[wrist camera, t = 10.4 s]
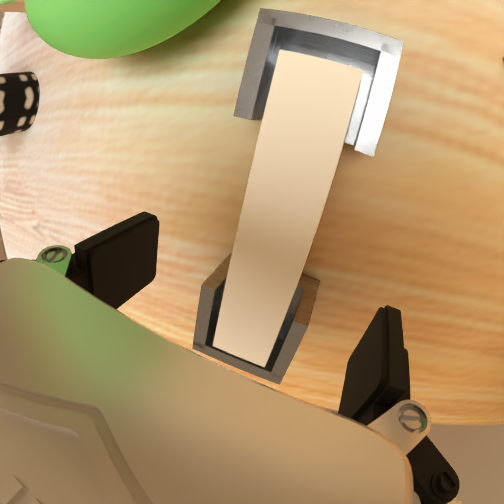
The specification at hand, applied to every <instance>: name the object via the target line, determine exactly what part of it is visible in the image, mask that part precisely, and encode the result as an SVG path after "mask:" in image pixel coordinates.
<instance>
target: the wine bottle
mask: <svg viewBox="0 0 504 504" xmlns="http://www.w3.org/2000/svg"><path fill="white" fill-rule="evenodd" d="M0 12H26V9H25V1H24V0H17V1H14V2H11V3H8V4H5V5H0Z"/></svg>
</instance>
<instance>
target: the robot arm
mask: <svg viewBox="0 0 504 504" xmlns="http://www.w3.org/2000/svg"><path fill="white" fill-rule="evenodd" d="M158 235H159V221H158V220H157V217H156V216H155V215H153V214H150V213H147V212H142V213H139V214H137V215H135V216H133V217H131V218H129V219H126V220H124V221H122V222H120V223H118V224H116V225H114V226H112V227H110V228H108V229H106V230H103V231H101V232H99V233H97V234H95V235H93V236H91V237H89V238H87V239H86V240H84V241H82V242H80V243H78V244H76V245H74V246H75V253H74V254H72V252H71V250H70V249H69V248H67V247H65V246H60V245H55V246H50V247H47V248H45V249H43V250H42V251H41V252H40V253H39V255H38V257H37V259H36V260H29V259H24V258H11V259H8V260H1V261H0V504H462V502H461V501H458V502H457V501H456V498H455V497H456V495H457V494H458V490H459V479H458V476H457V474H456V472H455V471H454V470H453V468H452V467H451V466H450V464H449V463H448V462H447V461H446V459H445V458H444V457H443V456H442V454H441V453H440V452H439V451H438V449H437V448H436V447H435V446H434V444H433V443H432V442H431V441H430V439H429V438H428V437H427V436H426V435H427V434H428V432H429V431H430V428H431V418H430V415H429V413H428V411H427V410H426V409H425V407H423V406H422V405H421V404H420V403H418V402H416V401H413V400H410V376H409V360H408V351H407V350H406V349H405V348H404V342H403V330H402V320H401V311H400V310H398V309H396V308H393V307H390V306H388V305H387V306H385V307H384V308H382V307H380V308H379V309H378V311H377V313H376V315H375V316H374V318H373V320H372V322H371V323H370V325H369V327H368V329H367V330H366V332H365V334H364V335H363V337H362V339H361V340H360V342H359V344H358V345H357V347H356V348H355V350H354V352H353V353H352V355H351V356H350V358H349V361H348V364H347V369H346V375H345V381H344V386H343V391H342V397H341V402H340V406H339V411H338V414H337V413H335V412H332V411H329V410H327V409H324V408H322V407H319V406H317V405H314V404H311V403H309V402H306V401H303V400H300V399H298V398H295V397H293V396H290V395H288V394H285V393H283V392H280V391H278V390H275V389H273V388H270V387H268V386H266V385H263V384H261V383H259V382H256V381H254V380H252V379H249V378H247V377H245V376H243V375H240V374H238V373H236V372H234V371H231V370H229V369H227V368H225V367H223V366H221V365H219V364H217V363H215V362H212V361H210V360H208V359H206V358H204V357H202V356H200V355H198V354H196V353H194V352H192V351H190V350H188V349H186V348H184V347H182V346H180V345H179V344H177V343H175V342H173V341H171V340H169V339H167V338H165V337H163V336H162V335H160V334H158V333H156V332H154V331H153V330H151V329H149V328H147V327H145V326H144V325H142V324H140V323H138V322H137V321H135V320H133V319H131V318H130V317H128V316H126V315H125V314H123V313H121V312H120V311H118V310H116V309H117V308H119V307H120V306H121V305H122V304H124V303H125V302H126V301H127V300H129V299H130V298H131V297H132V296H134V295H135V294H136V293H138V292H139V291H140V290H141V289H143V288H144V287H145V286H147V285H148V284H149V283H150V282H152V281H153V279H154V278H155V275H156V263H157V248H158Z"/></svg>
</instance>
